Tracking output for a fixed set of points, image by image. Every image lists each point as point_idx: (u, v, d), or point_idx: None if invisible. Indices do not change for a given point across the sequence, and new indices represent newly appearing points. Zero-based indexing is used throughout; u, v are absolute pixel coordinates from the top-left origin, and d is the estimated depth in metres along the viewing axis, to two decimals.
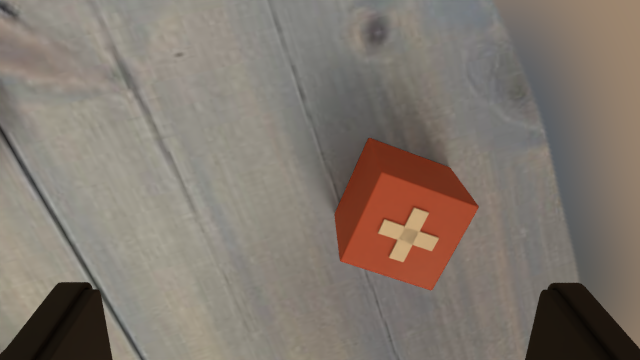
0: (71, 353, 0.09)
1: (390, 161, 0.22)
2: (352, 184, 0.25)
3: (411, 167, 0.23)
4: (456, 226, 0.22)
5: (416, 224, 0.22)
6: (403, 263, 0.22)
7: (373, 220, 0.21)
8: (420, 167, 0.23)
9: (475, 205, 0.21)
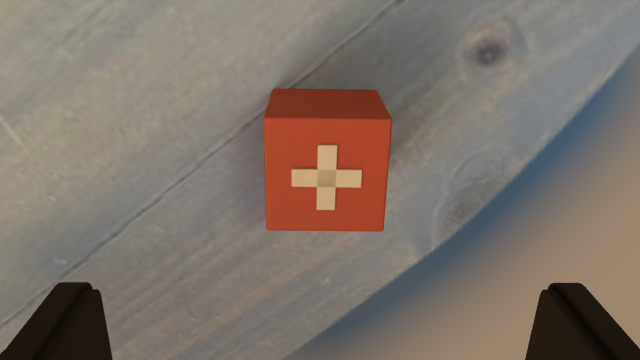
0: (71, 353, 0.09)
1: None
2: (326, 94, 0.21)
3: None
4: (353, 220, 0.19)
5: (342, 181, 0.19)
6: (289, 187, 0.19)
7: (330, 133, 0.18)
8: None
9: (383, 227, 0.20)
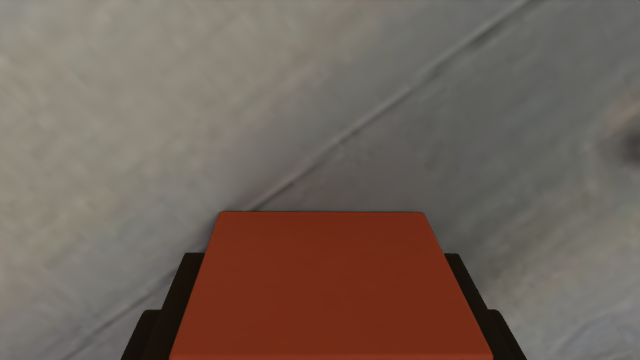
0: None
1: None
2: (324, 232, 0.10)
3: None
4: None
5: None
6: None
7: None
8: None
9: None
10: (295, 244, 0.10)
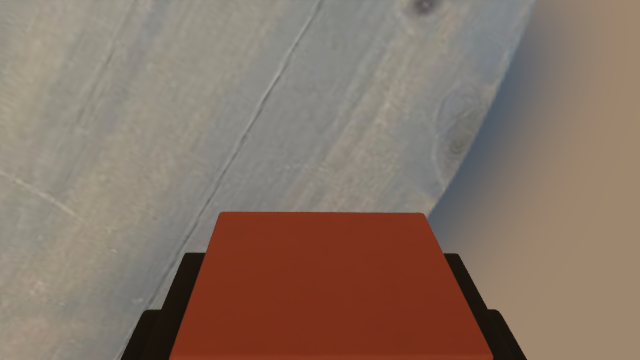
0: None
1: None
2: (324, 232, 0.10)
3: None
4: None
5: None
6: None
7: None
8: None
9: None
10: (295, 244, 0.10)
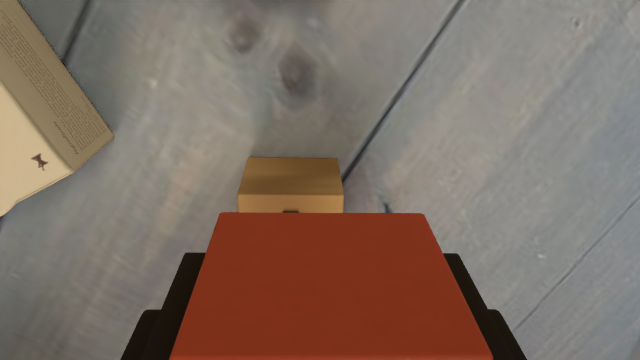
0: None
1: None
2: (325, 233, 0.10)
3: None
4: None
5: None
6: None
7: None
8: None
9: None
10: (295, 245, 0.10)
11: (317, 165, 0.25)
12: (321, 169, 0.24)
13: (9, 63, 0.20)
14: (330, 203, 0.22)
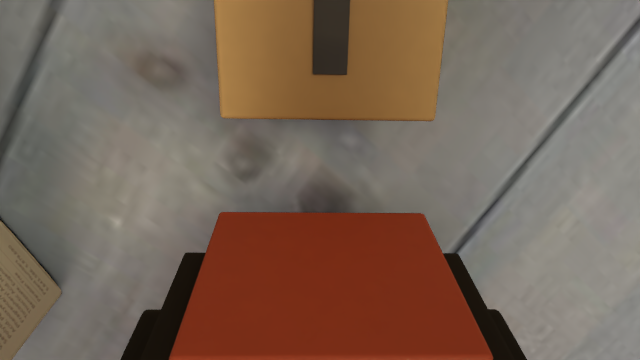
0: None
1: None
2: (324, 233, 0.10)
3: None
4: None
5: None
6: None
7: None
8: None
9: None
10: (295, 245, 0.10)
11: None
12: None
13: None
14: None
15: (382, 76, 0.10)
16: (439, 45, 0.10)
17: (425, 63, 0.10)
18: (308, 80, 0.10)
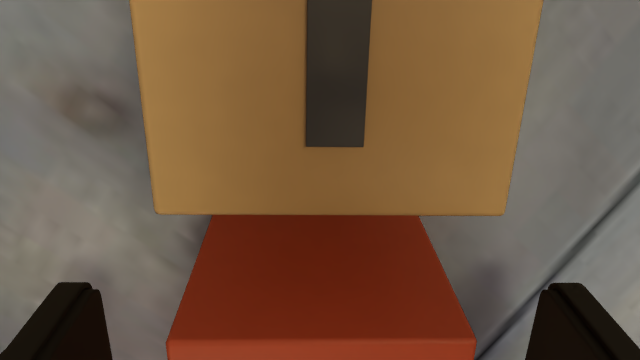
0: (71, 353, 0.09)
1: None
2: (317, 225, 0.11)
3: None
4: None
5: None
6: None
7: None
8: None
9: None
10: (289, 236, 0.10)
11: None
12: None
13: None
14: None
15: (422, 149, 0.06)
16: (520, 98, 0.06)
17: (495, 127, 0.06)
18: (298, 155, 0.06)
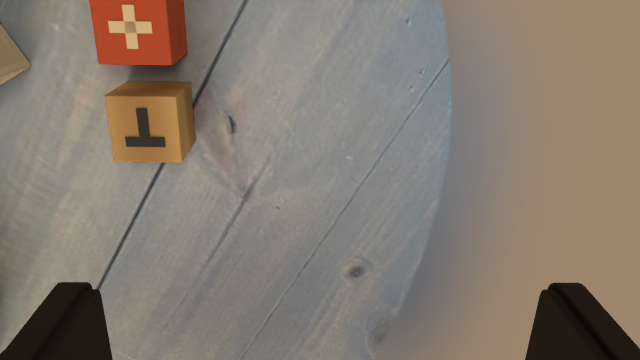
0: (71, 353, 0.09)
1: None
2: None
3: (175, 16, 0.32)
4: (152, 57, 0.31)
5: (140, 29, 0.31)
6: (109, 33, 0.31)
7: None
8: (178, 25, 0.33)
9: (171, 62, 0.32)
10: None
11: (172, 84, 0.36)
12: (173, 86, 0.35)
13: None
14: (167, 102, 0.33)
15: None
16: None
17: None
18: None
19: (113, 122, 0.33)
